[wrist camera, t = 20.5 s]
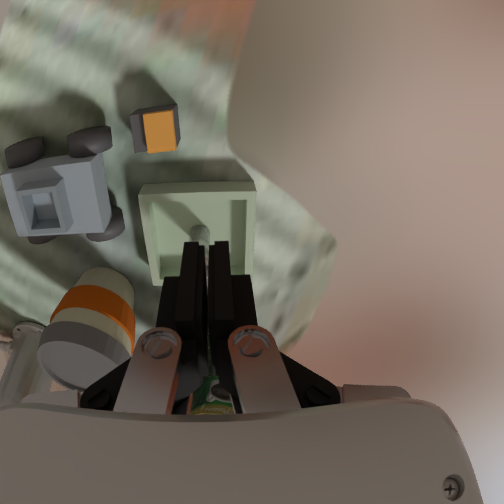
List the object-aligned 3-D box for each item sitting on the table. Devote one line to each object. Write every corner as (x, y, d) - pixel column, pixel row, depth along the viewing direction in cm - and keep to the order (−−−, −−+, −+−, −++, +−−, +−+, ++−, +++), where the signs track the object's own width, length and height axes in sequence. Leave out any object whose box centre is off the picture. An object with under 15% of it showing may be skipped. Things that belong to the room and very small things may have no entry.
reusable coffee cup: (117, 244, 40) (85, 329, 28) (160, 308, 47) (149, 392, 35) (54, 271, 41) (16, 348, 29) (98, 325, 49) (78, 401, 36)
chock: (142, 143, 33) (132, 155, 29) (137, 109, 31) (127, 117, 27) (180, 138, 33) (175, 150, 30) (177, 103, 31) (171, 111, 27)
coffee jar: (182, 355, 55) (179, 451, 39) (194, 328, 51) (192, 434, 36) (233, 365, 57) (240, 457, 42) (249, 340, 53) (262, 440, 38)
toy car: (38, 224, 37) (10, 261, 30) (18, 140, 30) (-20, 166, 23) (128, 219, 38) (111, 259, 31) (116, 124, 31) (89, 145, 24)
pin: (186, 245, 41) (181, 294, 33) (184, 221, 38) (177, 268, 31) (214, 244, 41) (215, 293, 34) (213, 220, 39) (213, 266, 32)
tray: (156, 271, 43) (153, 285, 41) (143, 184, 36) (137, 194, 33) (250, 269, 44) (252, 283, 42) (253, 180, 37) (256, 191, 35)
